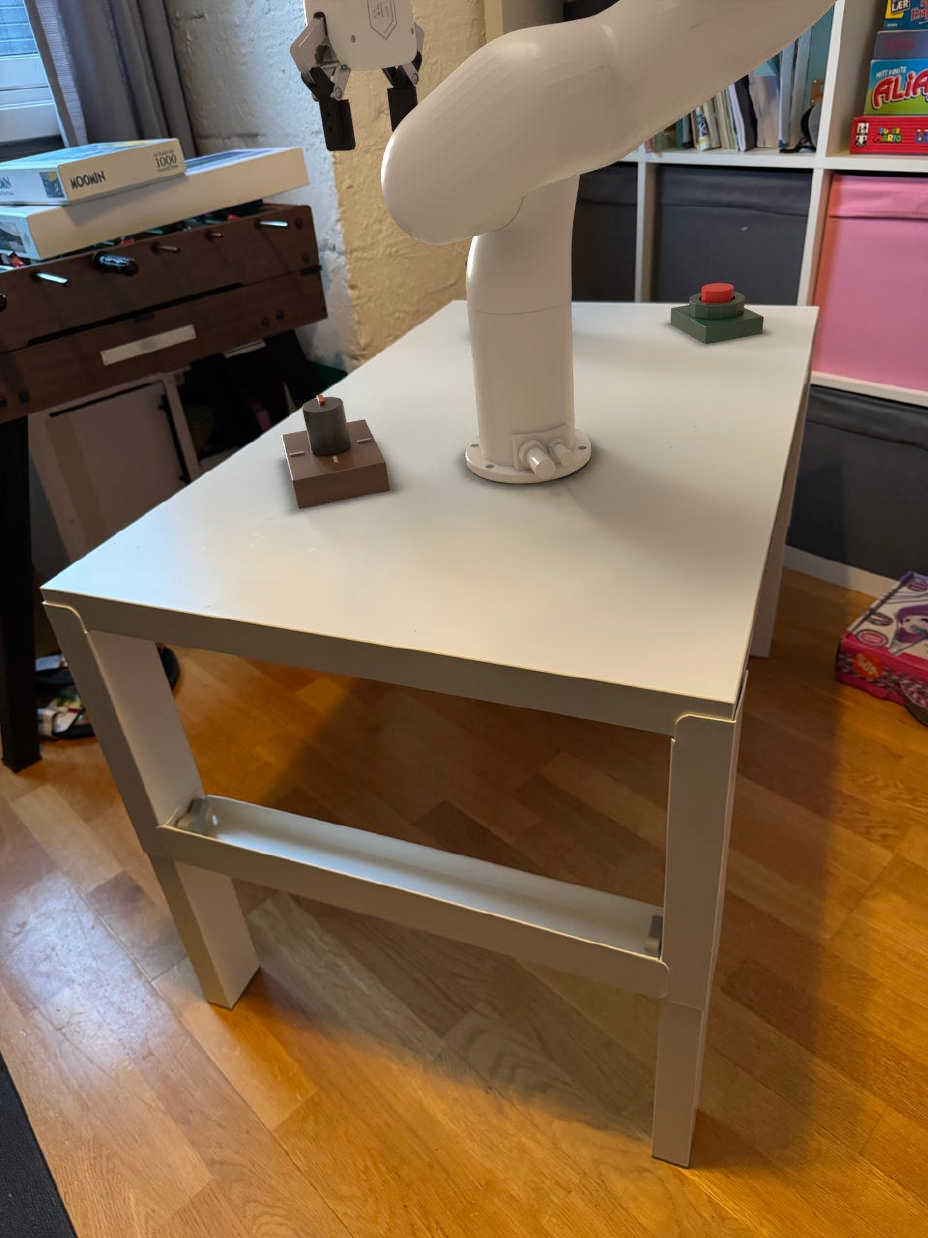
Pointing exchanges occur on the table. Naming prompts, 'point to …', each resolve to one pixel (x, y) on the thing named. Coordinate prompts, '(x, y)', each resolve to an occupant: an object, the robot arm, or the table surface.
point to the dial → (326, 425)
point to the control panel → (335, 468)
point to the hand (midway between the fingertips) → (375, 141)
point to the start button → (717, 293)
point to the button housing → (716, 319)
